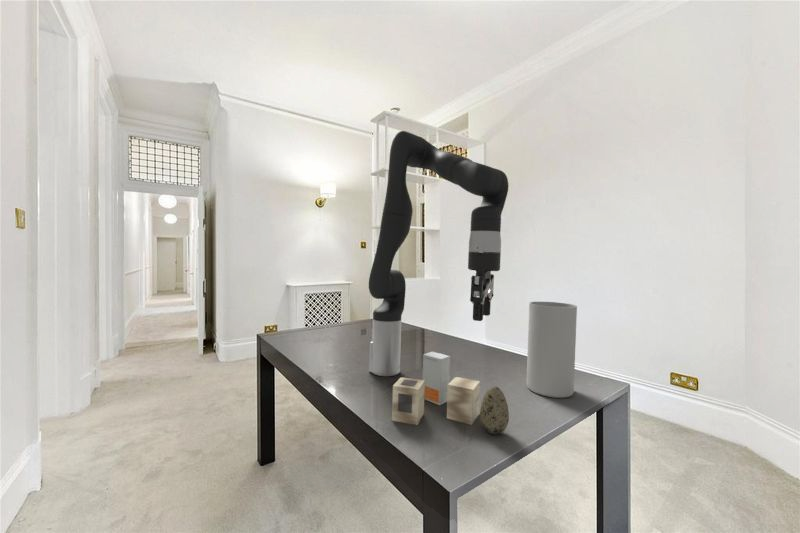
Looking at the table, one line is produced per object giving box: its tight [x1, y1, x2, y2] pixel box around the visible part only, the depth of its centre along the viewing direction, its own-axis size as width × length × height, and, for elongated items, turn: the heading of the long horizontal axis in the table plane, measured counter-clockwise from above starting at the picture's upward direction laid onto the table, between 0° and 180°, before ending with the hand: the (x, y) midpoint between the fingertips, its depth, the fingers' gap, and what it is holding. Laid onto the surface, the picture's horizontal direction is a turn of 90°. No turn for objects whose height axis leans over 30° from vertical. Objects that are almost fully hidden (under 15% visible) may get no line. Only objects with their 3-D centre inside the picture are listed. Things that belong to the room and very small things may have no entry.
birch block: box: [446, 376, 481, 426], centre depth 78 cm, size 6×6×8 cm
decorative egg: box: [479, 385, 510, 435], centre depth 71 cm, size 6×6×10 cm
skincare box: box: [421, 351, 451, 406], centre depth 87 cm, size 6×4×12 cm
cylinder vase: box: [526, 301, 578, 399], centre depth 96 cm, size 12×12×25 cm
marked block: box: [391, 377, 425, 426], centre depth 77 cm, size 6×6×8 cm
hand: (481, 317), depth 80 cm, fingers open, 8 cm apart
